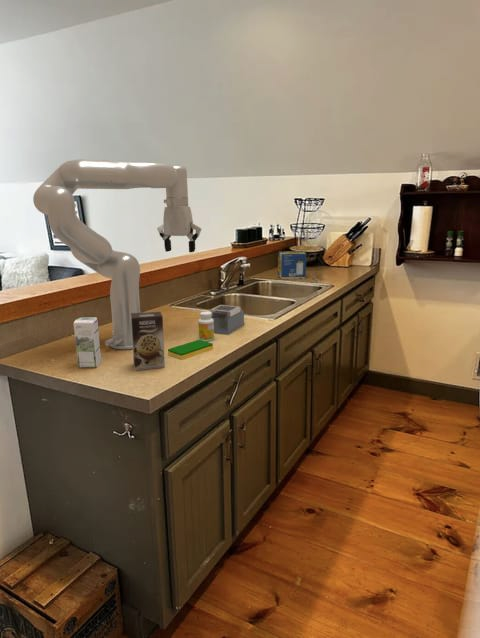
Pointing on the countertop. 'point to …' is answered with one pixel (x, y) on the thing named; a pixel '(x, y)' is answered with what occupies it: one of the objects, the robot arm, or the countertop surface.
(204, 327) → the supplement bottle
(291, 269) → the protein box
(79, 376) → the countertop surface
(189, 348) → the dish sponge
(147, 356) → the coffee box
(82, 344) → the syrup box
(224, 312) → the box
